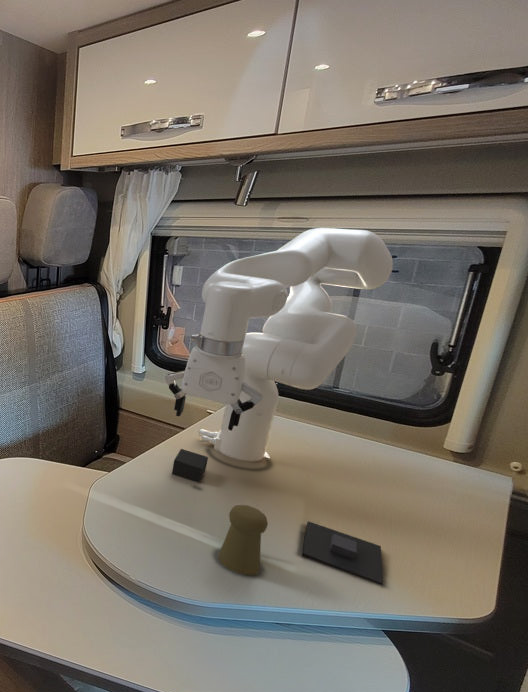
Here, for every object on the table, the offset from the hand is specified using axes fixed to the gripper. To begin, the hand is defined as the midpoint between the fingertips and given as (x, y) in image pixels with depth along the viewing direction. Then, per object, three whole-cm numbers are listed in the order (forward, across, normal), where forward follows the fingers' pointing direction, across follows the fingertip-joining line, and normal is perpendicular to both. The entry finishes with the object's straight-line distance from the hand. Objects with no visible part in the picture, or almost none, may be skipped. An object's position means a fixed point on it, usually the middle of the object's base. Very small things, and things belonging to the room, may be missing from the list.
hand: (204, 420), depth 96 cm
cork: (+14, +12, -23) cm, 29 cm away
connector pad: (+14, -1, 0) cm, 14 cm away
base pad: (+14, +25, -9) cm, 30 cm away
